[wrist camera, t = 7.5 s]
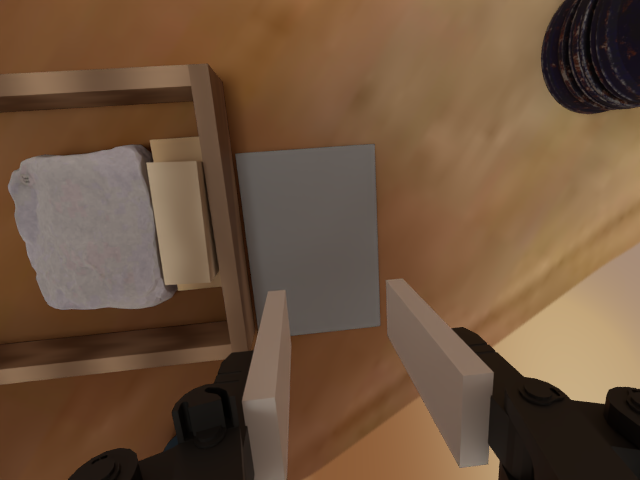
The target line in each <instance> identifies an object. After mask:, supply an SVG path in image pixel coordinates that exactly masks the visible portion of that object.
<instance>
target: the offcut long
mask: <svg viewBox="0 0 640 480" xmlns="http://www.w3.org/2000/svg"><path fill="white" fill-rule="evenodd" d="M150 145H151V150H152V156H153V161H154V162H184V161H200V162H203V160H202V154H201V147H200V141H199V137H186V138H171V139H157V140H150ZM177 287H178V291H181V290H191V289H202V288H212V287H222V284H221V277H220V271H219V272H218V273H217V275H216V276H215V277H214V279H213V280H212V281H211V282H210V283H193V284H177Z"/></svg>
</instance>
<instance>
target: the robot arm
mask: <svg viewBox="0 0 640 480" xmlns="http://www.w3.org/2000/svg"><path fill="white" fill-rule="evenodd" d="M386 300H387V336H388V337H389V339H390V341H391V343H392V345H393V347H394V348H395V350H396V352H397V354H398V356H399V358H400V359H401V361H402V363H403V365H404V367H405V369H406V370H407V372H408V374H409V376H410V378H411V380H412V381H413V383H414V385H415V387H416V389H417V391H418V392H419V394H420V396H421V398H422V400H423V402H424V403H425V405H426V407H427V409H428V411H429V413H430V414H431V416H432V418H433V420H434V422H435V424H436V425H437V427H438V429H439V431H440V433H441V435H442V436H443V438H444V440H445V442H446V444H447V446H448V447H449V449H450V451H451V453H452V455H453V457H454V458H455V460H456V462H457V464H458V466H459V467H460V468H462V467H471V466H478V465H486V464H488V456H489V446H490V447H491V448H492V450H493V451H494V453H495V454H496V456H497V457H498V458H499V460H500V464H499V479H498V480H640V389H636V388H630V387H615V388H613V389H610V390H609V391H608V393H607V396H606V402H605V404H599V403H591V402H582V401H574V400H571V399H570V398H569V397H568V396H567V395H566V394H565V393H563V392H562V391H561V390H560V389H558V388H557V387H555V386H553V385H551V384H549V383H547V382H544V381H541V380H538V379H535V378H527V377H524V376H522V375H521V374H520V373H519V372H518V371H517V370H516V369H515V368H514V367H513V366H511V365H510V364H509V363H508V362H507V361H506V360H505V359H504V358H503V357H502V356H500V355H499V354H498V353H497V352H495V350H494V349H493V348H492V347H491V346H490V345H487V343H486V342H485V341H484V340H483V339H482V338H481V337H480V336H479V335H478V334H476V333H474V332H472V331H470V330H468V329H466V328H464V327H459V328H450V327H449V326H448V325H447V324H446V323H445V322H444V321H443V320H442V319H441V318H440V317H439V315H438V314H437V313H436V312H435V311H434V310H433V309H432V308H431V307H430V306H429V305H428V304H427V303H426V302H425V301H424V300H423V299H422V298H421V297H420V296H419V295H418V294H417V293H416V292H415V291H414V290H413V289H412V288H411V287H410V286H409V285H408V284H407V283H406V281H405V280H404V279H393V280H386ZM290 368H291V338H290V329H289V319H288V310H287V300H286V291H285V290H278V291H268V294H267V298H266V302H265V306H264V310H263V315H262V319H261V323H260V327H259V331H258V335H257V340H256V344H255V348H254V350H252V351H242V352H233V353H231V354H230V355H229V356H228V357H227V358H226V359H225V360H224V361H223V362H222V364H221V366H220V369H219V371H218V376H216V379H215V381H214V384H207V385H203V386H201V387H198V388H195V389H193V390H192V391H190V392H188V393H187V394H185V395H184V396H183V397H182V398H181V399H180V400H179V401H178V402H177V403H176V404H175V406H174V408H173V410H172V417H173V421H174V426H175V430H176V435H177V440H178V445H176V446H174V447H173V448H171V449H169V450H166V451H164V452H162V453H159V454H157V455H154V456H151V457H149V458H146V459H144V460H141V461H138V458H137V454H136V453H135V452H133V451H132V450H131V449H124V448H118V449H114V450H110V451H106V452H104V453H102V454H100V455H98V456H96V457H94V458H92V459H91V460H89V461H88V462H87V463H85V464H84V465H82V466H81V467H80V468H78V469H77V470H76V471H75V473H74V474H73V475H72V476H71V477H70V478H69V479H68V480H287V459H288V429H289V398H290Z"/></svg>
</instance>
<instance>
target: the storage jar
mask: <svg viewBox="0 0 640 480" xmlns="http://www.w3.org/2000/svg"><path fill="white" fill-rule="evenodd" d="M541 64H542V72H543V77H544V80H545V83H546V86H547V88H548V90H549V91H550V93H551V95H552V96H553V97H554V98H555V100H556V101H557V102H558V103H559V104H561V105H562V106H563V107H565V108H567V109H569V110H570V111H573V112H577V113H582V114H594V113H600V112H604V111H608V110H616V109H629V108H635V107H640V0H565V1H564V3H563V4H562V5H561V6H560V7H559V8H558V10H557V11H556V13H555V14H554V16H553V18H552V20H551V22H550V24H549V26H548V28H547V31H546V34H545V37H544V41H543V46H542V54H541Z"/></svg>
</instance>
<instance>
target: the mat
mask: <svg viewBox="0 0 640 480" xmlns="http://www.w3.org/2000/svg"><path fill="white" fill-rule="evenodd" d="M235 156H236V163H237V171H238V179H239V186H240V194H241V202H242V209H243V217H244V225H245V233H246V240H247V248H248V256H249V263H250V271H251V279H252V286H253V294H254V302H255V309H256V317H257V325H258V331H259V327H260V323H261V319H262V315H263V310H264V306H265V302H266V298H267V294H268V291H278V290H285V291H286V300H287V310H288V319H289V329H290V336H293V335H303V334H312V333H321V332H330V331H339V330H348V329H357V328H367V327H376V326H380V299H379V268H378V236H377V205H376V173H375V144H366V145H352V146H337V147H323V148H309V149H295V150H281V151H267V152H252V153H238V154H235Z"/></svg>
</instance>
